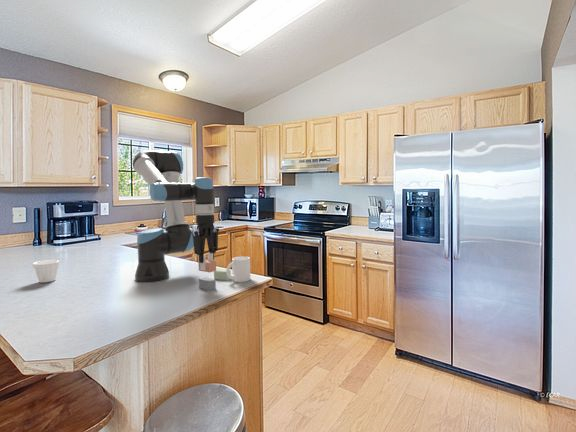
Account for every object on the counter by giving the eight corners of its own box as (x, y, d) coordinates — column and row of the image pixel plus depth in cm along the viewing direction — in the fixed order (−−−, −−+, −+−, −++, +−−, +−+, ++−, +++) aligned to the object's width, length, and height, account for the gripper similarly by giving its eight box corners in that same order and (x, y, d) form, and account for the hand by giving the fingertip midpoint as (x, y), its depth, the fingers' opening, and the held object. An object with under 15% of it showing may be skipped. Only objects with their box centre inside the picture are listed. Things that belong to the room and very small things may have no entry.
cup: (65, 279, 152) (63, 260, 151) (41, 285, 143) (40, 265, 142) (52, 277, 156) (51, 258, 155) (29, 283, 147) (27, 263, 146)
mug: (231, 285, 140) (230, 262, 139) (222, 281, 147) (221, 259, 146) (253, 280, 148) (253, 258, 147) (244, 276, 154) (243, 255, 153)
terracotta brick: (198, 270, 137) (198, 261, 136) (205, 268, 140) (204, 259, 139) (209, 272, 133) (209, 263, 132) (216, 270, 136) (215, 261, 135)
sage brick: (214, 279, 151) (213, 271, 150) (217, 277, 154) (217, 269, 154) (227, 280, 149) (227, 271, 149) (230, 278, 152) (230, 270, 152)
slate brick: (199, 287, 138) (198, 278, 138) (206, 285, 141) (205, 276, 140) (208, 290, 134) (208, 281, 133) (215, 288, 136) (215, 279, 136)
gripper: (195, 216, 125) (197, 274, 127) (225, 213, 139) (227, 266, 141) (183, 215, 130) (185, 272, 131) (213, 212, 143) (215, 264, 145)
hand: (207, 268), depth 136 cm, fingers closed on terracotta brick, 3 cm apart
